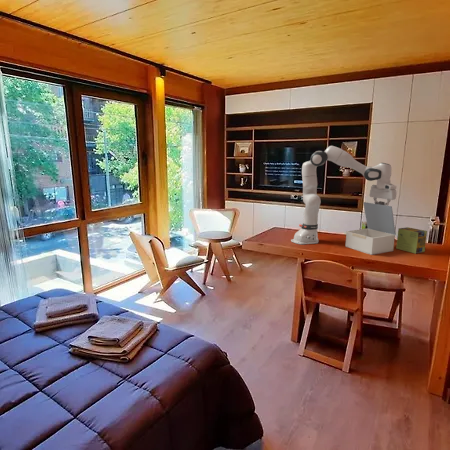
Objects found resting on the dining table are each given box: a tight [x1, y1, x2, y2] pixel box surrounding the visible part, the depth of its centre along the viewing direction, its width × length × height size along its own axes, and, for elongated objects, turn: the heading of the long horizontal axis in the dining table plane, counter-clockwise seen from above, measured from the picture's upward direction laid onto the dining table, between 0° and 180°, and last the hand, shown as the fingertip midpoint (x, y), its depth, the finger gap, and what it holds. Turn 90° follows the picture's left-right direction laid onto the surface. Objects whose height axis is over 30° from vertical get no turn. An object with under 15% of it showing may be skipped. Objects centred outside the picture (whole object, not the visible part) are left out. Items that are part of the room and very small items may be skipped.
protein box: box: [395, 226, 428, 254], centre depth 236 cm, size 10×15×16 cm
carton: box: [345, 228, 396, 256], centre depth 240 cm, size 22×24×12 cm
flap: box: [363, 200, 397, 236], centre depth 241 cm, size 22×24×6 cm
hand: (381, 204), depth 238 cm, fingers open, 8 cm apart
